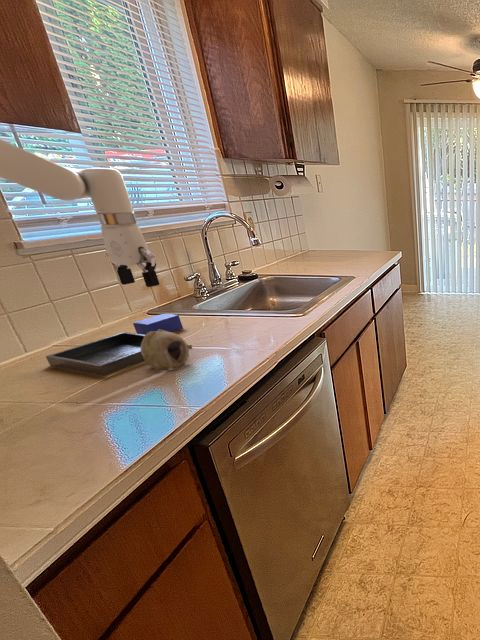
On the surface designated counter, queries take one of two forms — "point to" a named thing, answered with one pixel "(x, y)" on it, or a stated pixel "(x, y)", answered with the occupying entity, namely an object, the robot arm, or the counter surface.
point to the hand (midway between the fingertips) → (140, 284)
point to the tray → (101, 355)
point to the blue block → (158, 324)
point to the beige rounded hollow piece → (164, 350)
